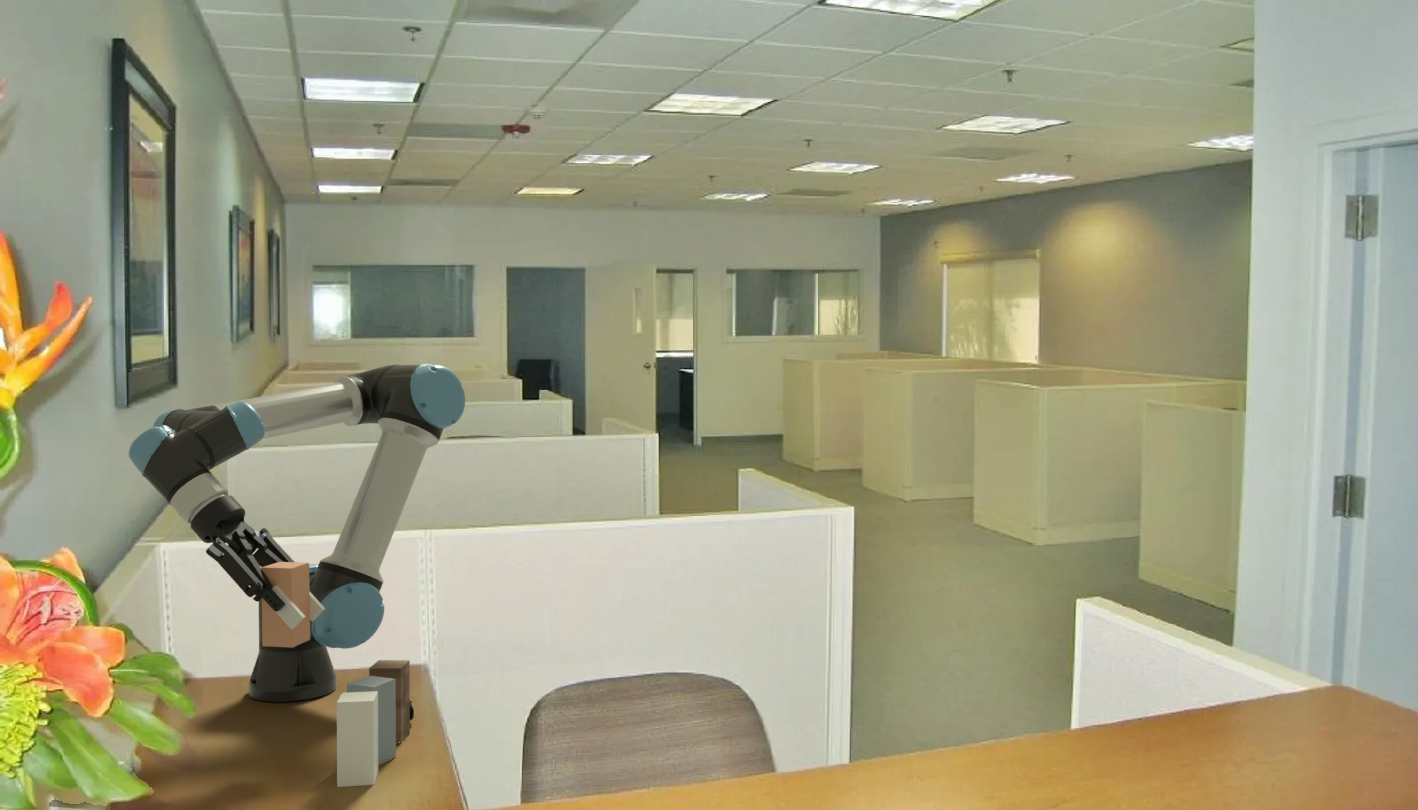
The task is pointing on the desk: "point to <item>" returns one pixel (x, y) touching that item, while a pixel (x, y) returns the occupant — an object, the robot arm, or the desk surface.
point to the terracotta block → (296, 587)
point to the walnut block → (397, 691)
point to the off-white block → (357, 738)
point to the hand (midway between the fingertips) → (308, 618)
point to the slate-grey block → (381, 712)
